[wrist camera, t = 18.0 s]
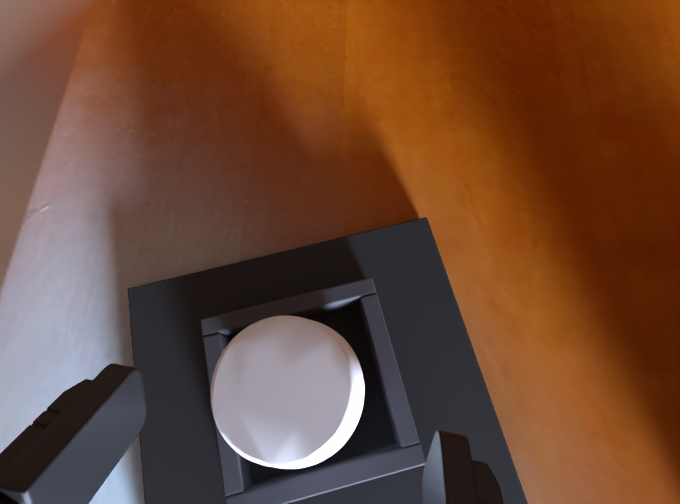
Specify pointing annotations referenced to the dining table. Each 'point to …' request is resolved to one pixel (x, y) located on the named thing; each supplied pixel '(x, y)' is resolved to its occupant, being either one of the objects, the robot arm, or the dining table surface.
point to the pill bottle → (287, 392)
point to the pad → (367, 343)
